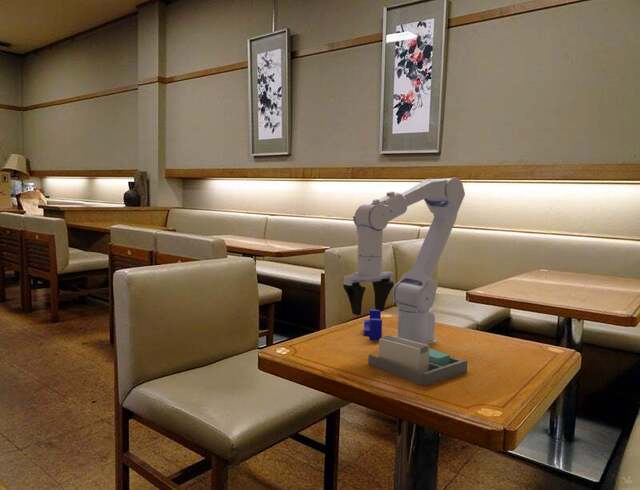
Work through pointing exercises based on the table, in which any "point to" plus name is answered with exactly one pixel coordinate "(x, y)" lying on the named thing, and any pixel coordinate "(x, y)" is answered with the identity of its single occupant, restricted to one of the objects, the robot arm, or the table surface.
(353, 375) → the table surface
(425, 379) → the grey divided tray
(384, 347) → the grey striped bar
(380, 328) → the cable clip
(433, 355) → the teal rectangular prism
